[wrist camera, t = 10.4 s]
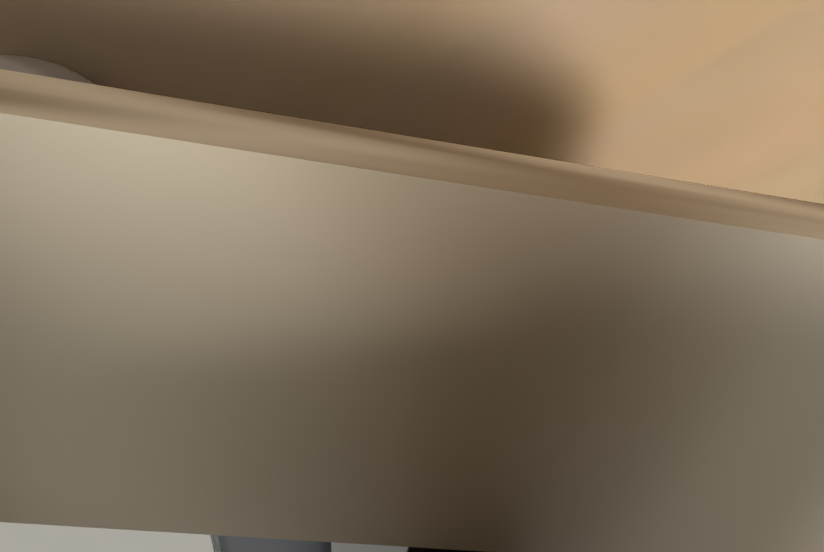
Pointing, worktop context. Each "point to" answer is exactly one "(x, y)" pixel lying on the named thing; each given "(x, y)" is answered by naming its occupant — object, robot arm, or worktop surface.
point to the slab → (155, 541)
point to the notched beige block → (393, 337)
